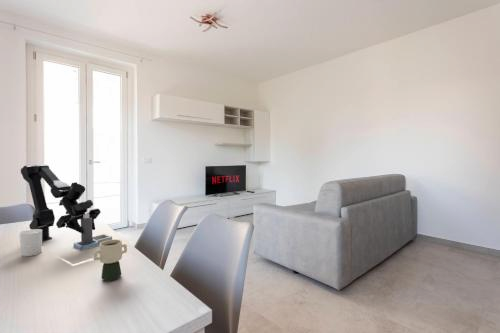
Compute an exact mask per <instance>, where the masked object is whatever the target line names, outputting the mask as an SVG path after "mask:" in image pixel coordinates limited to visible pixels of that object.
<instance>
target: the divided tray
mask: <svg viewBox="0 0 500 333" xmlns="http://www.w3.org/2000/svg"><path fill="white" fill-rule="evenodd" d="M107 240H113V236H111V235H109V234H105V233H103V234H98V235H95V236H93V243H91V244H87V245H84V246H82V242H81V241H78V242H73V248H75V249H77V250H80V251H83V250H87V249H91V248H94V247H99V244H100V243H101V242H104V241H107Z"/></svg>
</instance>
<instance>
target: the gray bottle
mask: <svg viewBox="0 0 500 333" xmlns="http://www.w3.org/2000/svg"><path fill="white" fill-rule="evenodd" d="M80 226H81V228H82V229H83V231H84V233H83V234H82V233H80V234H81V235H80V238H81V241H80V242H82V246H84V245H87V244H91V243H93V237H94V236H93V230H92V218H89V214H87V213H85V214H83V218H82V219H80Z"/></svg>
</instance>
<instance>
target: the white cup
mask: <svg viewBox="0 0 500 333" xmlns="http://www.w3.org/2000/svg"><path fill="white" fill-rule="evenodd" d="M18 235H19V236H18V237H19V244H20V250H21V256H22V257H31V256H36V255H39V254H40V253H42V246H43V245H42V244H43V241H42V230H41V229H28V230H23V231H21V232H19V233H18Z"/></svg>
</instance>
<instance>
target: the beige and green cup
mask: <svg viewBox="0 0 500 333" xmlns="http://www.w3.org/2000/svg"><path fill="white" fill-rule="evenodd" d="M122 241H123V240H121V239H112V240H107V241H104V242H101V243H99V245H98V247H99V249H97V250H95V251H93V260H94V261H100V263H102V270H101V280H103V281H115V280H118V279H119V278H120V277H121V276H122V271H121V270H122V269H121V264H120V260H122V258H123V255H124V254H127V252H128V246H127V243H124V244H123V242H122ZM98 254H99V256H98Z"/></svg>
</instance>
